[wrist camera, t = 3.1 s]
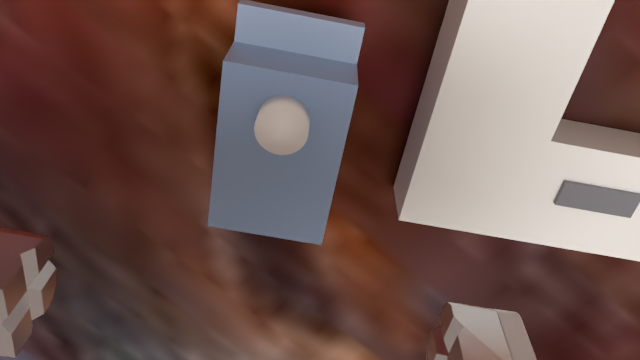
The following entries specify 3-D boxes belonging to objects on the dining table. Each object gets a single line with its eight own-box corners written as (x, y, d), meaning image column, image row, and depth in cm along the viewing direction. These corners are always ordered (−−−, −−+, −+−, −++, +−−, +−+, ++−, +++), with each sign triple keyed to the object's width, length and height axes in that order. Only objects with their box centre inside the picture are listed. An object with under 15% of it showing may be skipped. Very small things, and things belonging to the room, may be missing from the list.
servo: (320, 196, 24) (314, 285, 19) (229, 180, 24) (200, 267, 19) (361, 4, 19) (368, 55, 15) (252, -18, 19) (221, 26, 14)
